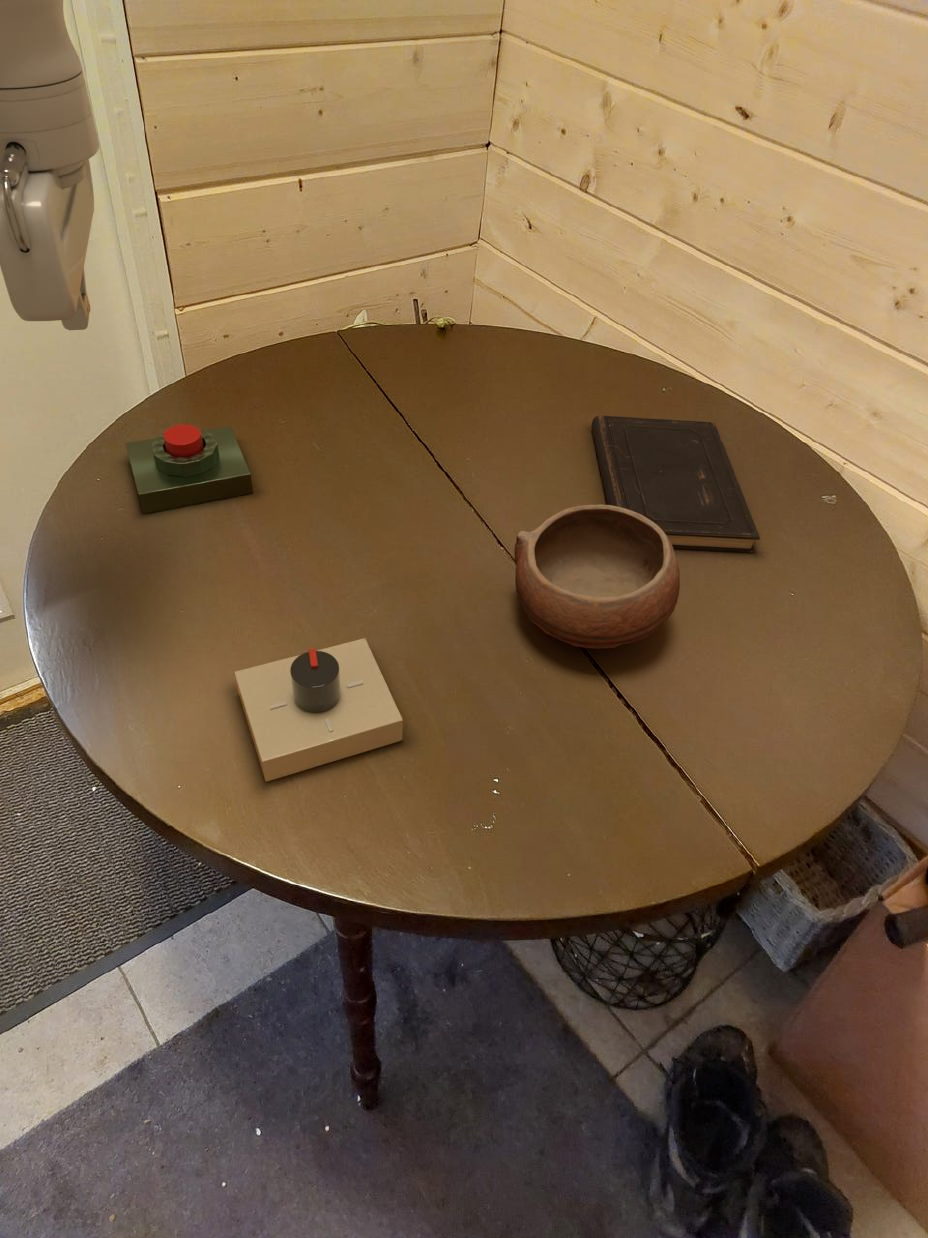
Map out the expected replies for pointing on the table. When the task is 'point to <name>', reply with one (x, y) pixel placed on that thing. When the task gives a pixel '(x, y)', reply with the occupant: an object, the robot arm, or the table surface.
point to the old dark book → (675, 480)
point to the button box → (189, 471)
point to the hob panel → (324, 737)
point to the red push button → (183, 440)
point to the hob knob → (315, 681)
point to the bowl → (597, 576)
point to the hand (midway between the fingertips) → (78, 321)
